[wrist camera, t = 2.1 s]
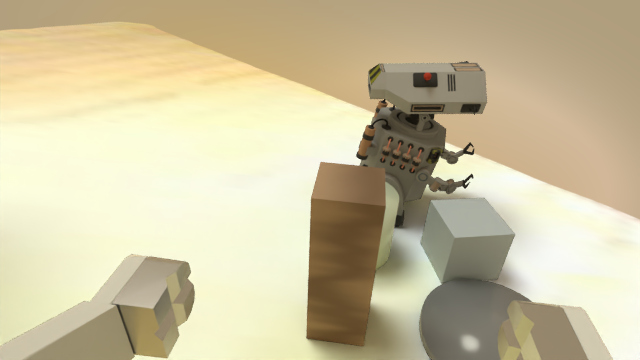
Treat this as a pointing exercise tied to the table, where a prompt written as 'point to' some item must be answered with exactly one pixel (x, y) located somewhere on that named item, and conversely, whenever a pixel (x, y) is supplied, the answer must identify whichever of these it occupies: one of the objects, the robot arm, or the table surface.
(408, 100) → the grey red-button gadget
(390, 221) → the pale green cylinder
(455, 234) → the bluegrey cube
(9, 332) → the table surface
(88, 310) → the robot arm
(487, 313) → the slate coaster
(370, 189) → the walnut block
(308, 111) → the table surface
